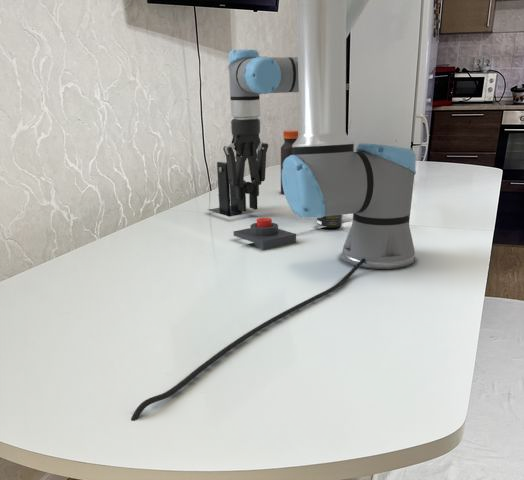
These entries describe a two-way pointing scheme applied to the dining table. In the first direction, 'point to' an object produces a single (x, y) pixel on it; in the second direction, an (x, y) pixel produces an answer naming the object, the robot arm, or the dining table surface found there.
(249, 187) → the switch lever
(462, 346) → the dining table surface
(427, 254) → the dining table surface
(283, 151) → the bottle
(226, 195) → the lever switch
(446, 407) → the dining table surface
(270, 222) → the button
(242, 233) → the dark grey base plate
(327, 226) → the supplement container
